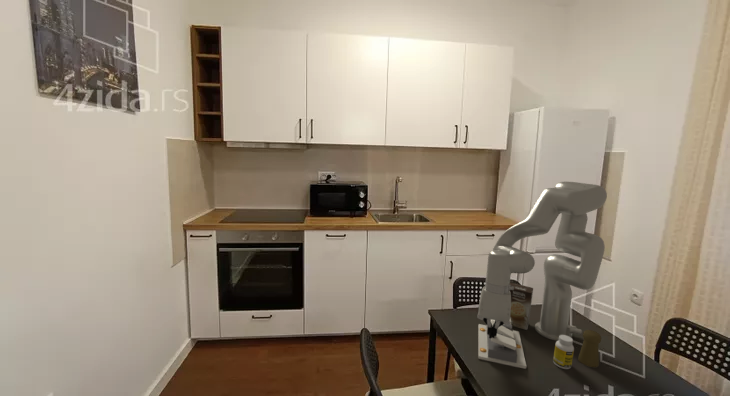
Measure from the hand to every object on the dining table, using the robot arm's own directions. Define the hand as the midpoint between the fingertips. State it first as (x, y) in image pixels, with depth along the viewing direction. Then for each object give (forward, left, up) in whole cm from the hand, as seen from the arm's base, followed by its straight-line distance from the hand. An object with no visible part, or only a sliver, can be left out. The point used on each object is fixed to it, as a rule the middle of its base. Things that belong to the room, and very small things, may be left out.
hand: (491, 336), depth 116 cm
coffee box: (-11, -26, -7) cm, 29 cm away
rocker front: (-4, 0, -2) cm, 4 cm away
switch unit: (-4, -7, -7) cm, 11 cm away
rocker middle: (-4, -7, -2) cm, 8 cm away
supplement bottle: (-23, -3, -7) cm, 25 cm away
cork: (-32, -8, -7) cm, 34 cm away
